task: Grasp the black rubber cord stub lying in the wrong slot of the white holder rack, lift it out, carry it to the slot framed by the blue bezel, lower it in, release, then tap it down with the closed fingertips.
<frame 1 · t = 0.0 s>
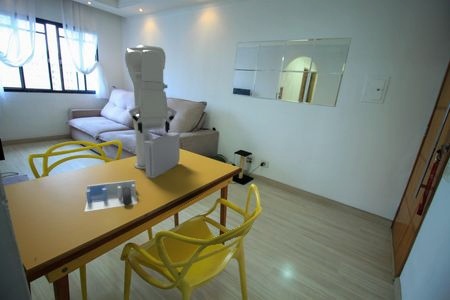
hand: (154, 132, 85), 31 cm above the table, fingers open, 9 cm apart
cord stub: (127, 199, 94), resting on white holder rack
game console: (163, 169, 129), on the table
white holder rack: (112, 198, 95), on the table
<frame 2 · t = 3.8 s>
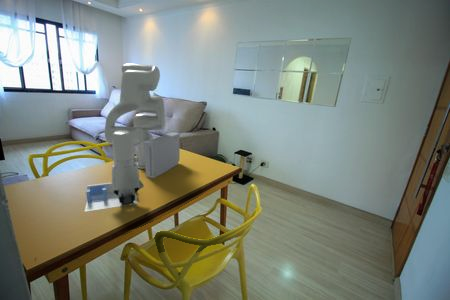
hand: (127, 202, 91), 1 cm above the table, fingers closed on cord stub, 3 cm apart
cord stub: (127, 199, 94), point 1 cm above the table, touching gripper
everything else where it was.
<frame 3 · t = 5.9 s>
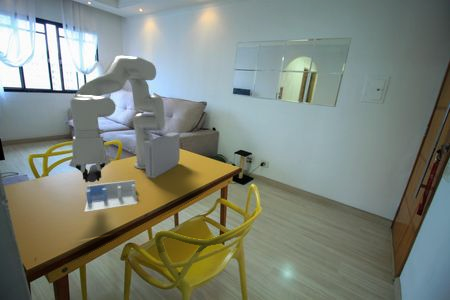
hand: (92, 179, 82), 13 cm above the table, fingers closed on cord stub, 3 cm apart
cord stub: (93, 176, 86), point 13 cm above the table, touching gripper
everything else where it was.
when the fingers open (1 cm above the table, at t = 8.5 s): cord stub stays where it is, resting on white holder rack.
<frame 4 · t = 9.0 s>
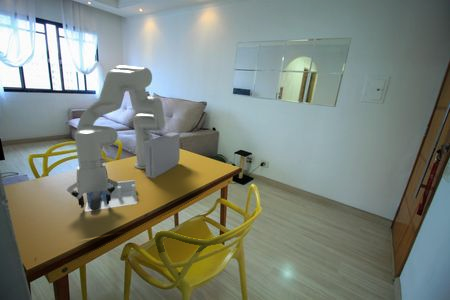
hand: (95, 204, 86), 2 cm above the table, fingers open, 8 cm apart
cord stub: (97, 203, 89), point 1 cm above the table, tilted 9°, touching white holder rack
everything else where it was.
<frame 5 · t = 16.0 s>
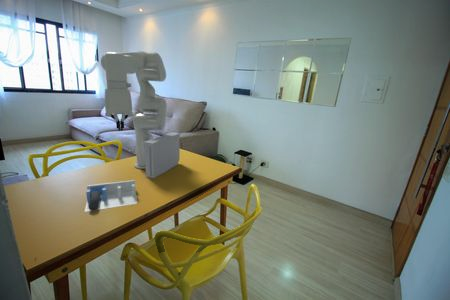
hand: (120, 129, 93), 29 cm above the table, fingers closed
cord stub: (96, 202, 89), point 1 cm above the table, tilted 25°, touching white holder rack
everything else where it was.
at the end: cord stub inside the target area on the white holder rack (0.0 cm from its centre), point 0.8 cm above the white holder rack's base; the gripper is holding nothing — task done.
